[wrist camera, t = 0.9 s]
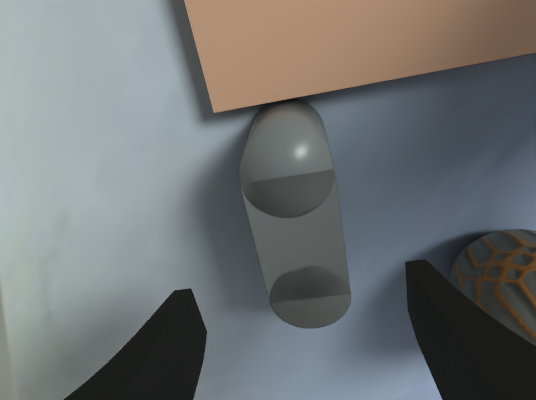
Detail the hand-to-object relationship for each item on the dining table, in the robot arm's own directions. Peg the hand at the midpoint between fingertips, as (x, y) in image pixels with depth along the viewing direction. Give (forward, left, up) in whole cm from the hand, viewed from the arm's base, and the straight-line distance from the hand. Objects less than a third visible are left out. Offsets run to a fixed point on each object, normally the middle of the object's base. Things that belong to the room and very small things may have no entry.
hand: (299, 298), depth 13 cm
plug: (0, 0, -8) cm, 8 cm away
